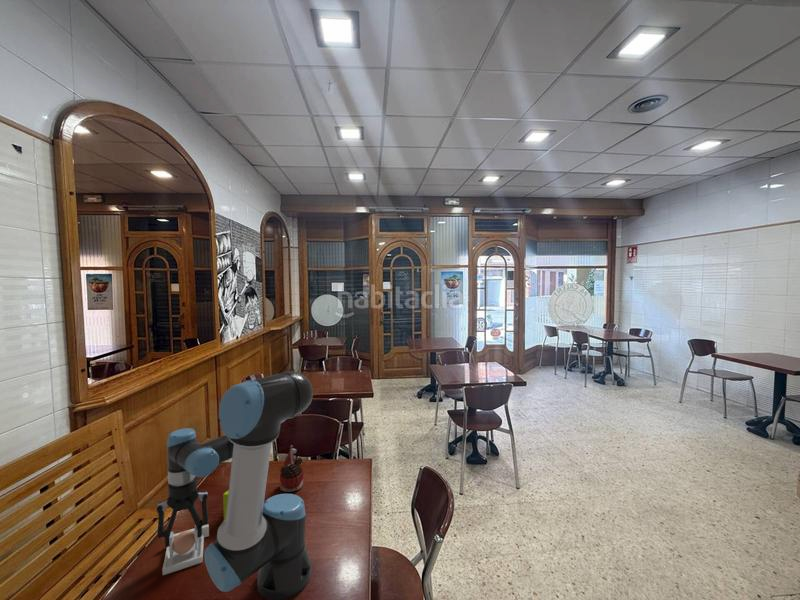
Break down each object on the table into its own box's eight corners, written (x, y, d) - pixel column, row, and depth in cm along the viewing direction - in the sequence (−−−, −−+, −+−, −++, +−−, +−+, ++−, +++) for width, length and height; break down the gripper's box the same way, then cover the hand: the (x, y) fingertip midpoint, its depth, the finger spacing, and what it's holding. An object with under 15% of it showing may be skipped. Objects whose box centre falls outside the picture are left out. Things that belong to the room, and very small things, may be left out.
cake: (289, 496, 137) (289, 453, 136) (274, 489, 141) (273, 448, 141) (309, 483, 146) (308, 443, 145) (293, 477, 151) (293, 438, 150)
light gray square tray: (202, 562, 104) (202, 556, 104) (162, 575, 100) (162, 569, 99) (203, 540, 113) (203, 535, 113) (167, 551, 109) (167, 546, 108)
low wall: (208, 536, 115) (208, 526, 115) (166, 549, 109) (166, 538, 109) (208, 533, 116) (208, 524, 116) (167, 546, 111) (166, 536, 110)
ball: (194, 554, 105) (194, 536, 105) (171, 561, 102) (171, 542, 102) (196, 541, 110) (195, 524, 110) (174, 548, 108) (173, 529, 107)
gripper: (217, 466, 113) (218, 532, 114) (147, 481, 104) (149, 553, 105) (216, 477, 106) (218, 548, 107) (142, 495, 98) (145, 571, 99)
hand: (184, 550), depth 106 cm, fingers closed on ball, 6 cm apart
